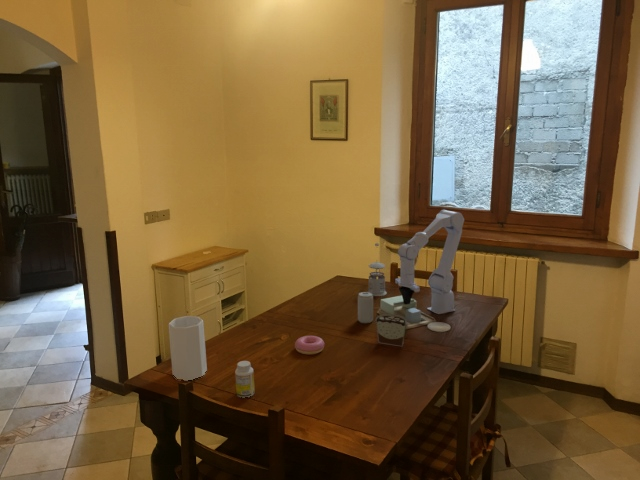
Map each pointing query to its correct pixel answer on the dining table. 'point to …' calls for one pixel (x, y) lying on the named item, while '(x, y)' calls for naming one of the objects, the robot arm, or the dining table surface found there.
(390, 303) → the sliding cover
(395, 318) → the food container
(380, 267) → the french press
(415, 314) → the slate-blue block
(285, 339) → the dining table surface
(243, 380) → the supplement bottle
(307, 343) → the doughnut
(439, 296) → the robot arm
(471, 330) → the dining table surface
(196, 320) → the cup
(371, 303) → the beverage can
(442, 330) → the cream saucer
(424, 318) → the beige open frame
